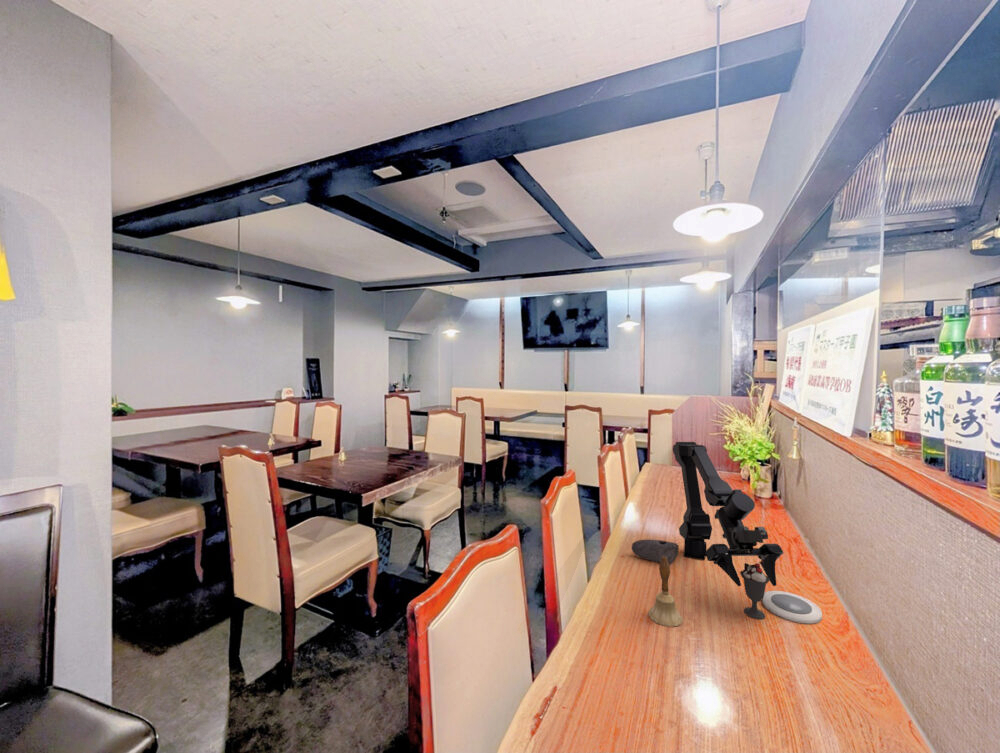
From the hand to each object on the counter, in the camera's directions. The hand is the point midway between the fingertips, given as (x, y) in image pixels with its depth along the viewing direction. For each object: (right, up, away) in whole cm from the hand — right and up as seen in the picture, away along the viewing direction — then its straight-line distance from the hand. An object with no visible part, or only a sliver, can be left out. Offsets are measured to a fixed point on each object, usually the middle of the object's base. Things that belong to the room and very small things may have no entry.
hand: (757, 585), depth 105 cm
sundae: (0, -8, +1) cm, 8 cm away
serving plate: (+11, -8, +3) cm, 14 cm away
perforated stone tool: (-15, -8, +31) cm, 36 cm away
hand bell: (-24, -8, 0) cm, 26 cm away
